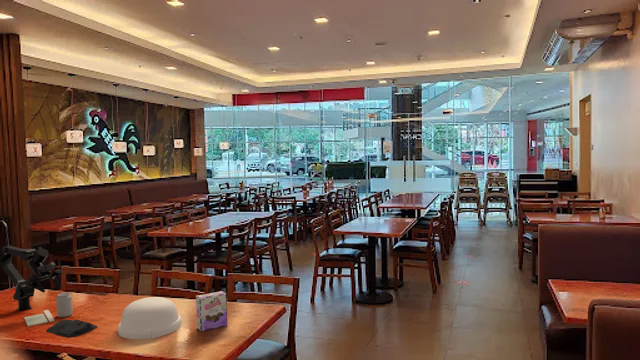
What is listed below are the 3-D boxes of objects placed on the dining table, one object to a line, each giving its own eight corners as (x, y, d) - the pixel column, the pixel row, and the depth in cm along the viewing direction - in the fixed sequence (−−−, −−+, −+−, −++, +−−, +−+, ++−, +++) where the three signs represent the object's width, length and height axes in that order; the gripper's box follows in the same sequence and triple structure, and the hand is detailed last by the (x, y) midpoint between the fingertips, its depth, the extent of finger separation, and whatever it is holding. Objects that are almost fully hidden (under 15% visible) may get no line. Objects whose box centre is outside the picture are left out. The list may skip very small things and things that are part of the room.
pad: (24, 318, 259) (24, 317, 259) (43, 314, 264) (43, 313, 264) (27, 326, 246) (27, 325, 246) (47, 322, 251) (47, 321, 251)
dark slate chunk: (71, 322, 252) (71, 313, 252) (100, 328, 242) (99, 319, 241) (43, 332, 238) (42, 323, 238) (71, 339, 228) (71, 329, 228)
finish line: (43, 311, 269) (43, 310, 269) (48, 310, 271) (48, 309, 271) (49, 322, 252) (49, 321, 252) (54, 320, 253) (54, 320, 253)
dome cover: (117, 322, 249) (116, 295, 248) (177, 313, 261) (176, 287, 260) (118, 344, 220) (116, 314, 219) (186, 333, 232) (184, 304, 231)
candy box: (200, 331, 233) (199, 298, 232) (196, 328, 238) (195, 295, 237) (227, 325, 240) (226, 293, 239) (223, 322, 245) (222, 290, 244)
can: (66, 318, 257) (64, 296, 256) (53, 317, 259) (52, 295, 258) (76, 313, 264) (74, 291, 264) (64, 312, 266) (62, 291, 265)
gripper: (27, 262, 256) (43, 285, 253) (59, 255, 273) (74, 276, 270) (19, 275, 260) (33, 298, 256) (50, 267, 277) (65, 288, 273)
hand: (52, 289), depth 264 cm, fingers open, 9 cm apart
